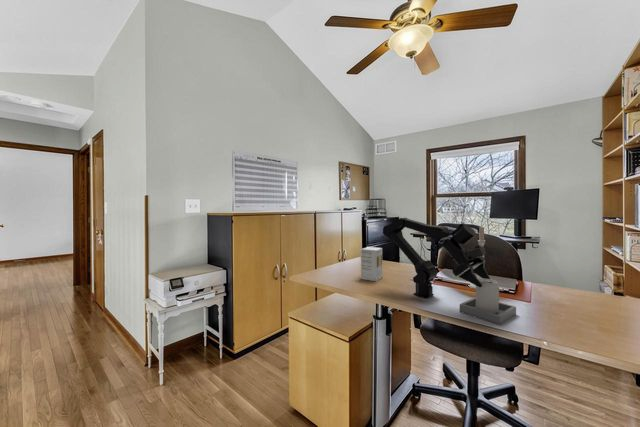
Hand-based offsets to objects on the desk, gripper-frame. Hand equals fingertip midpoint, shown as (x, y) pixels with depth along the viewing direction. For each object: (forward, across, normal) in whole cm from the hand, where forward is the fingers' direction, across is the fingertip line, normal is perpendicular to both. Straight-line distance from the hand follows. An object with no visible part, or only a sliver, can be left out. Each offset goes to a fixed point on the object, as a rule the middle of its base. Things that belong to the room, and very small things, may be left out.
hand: (485, 284), depth 103 cm
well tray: (+8, 0, +7) cm, 11 cm away
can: (+8, 0, +7) cm, 11 cm away
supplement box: (-33, +4, +49) cm, 59 cm away
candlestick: (-1, +32, +17) cm, 36 cm away
